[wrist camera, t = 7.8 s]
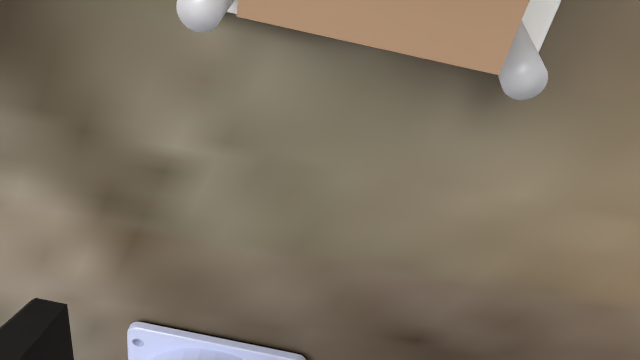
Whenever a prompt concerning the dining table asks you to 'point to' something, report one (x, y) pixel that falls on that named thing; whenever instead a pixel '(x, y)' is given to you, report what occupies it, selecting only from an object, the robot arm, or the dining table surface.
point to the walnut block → (405, 26)
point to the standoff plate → (515, 77)
